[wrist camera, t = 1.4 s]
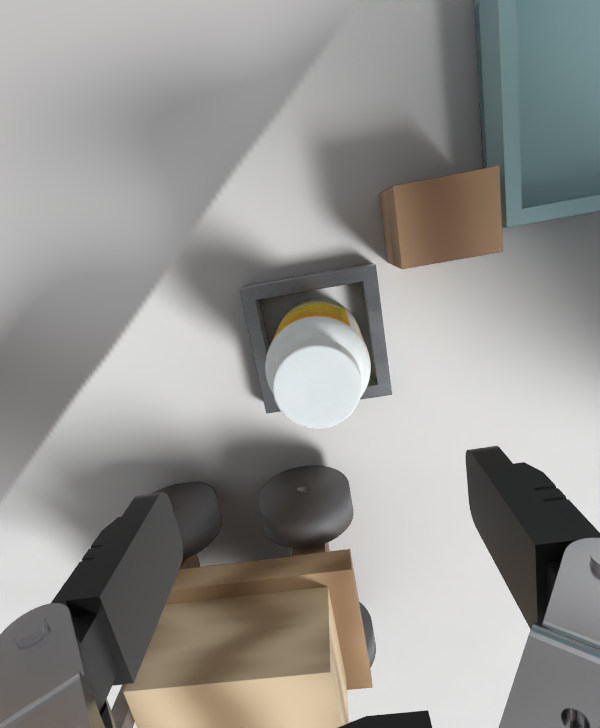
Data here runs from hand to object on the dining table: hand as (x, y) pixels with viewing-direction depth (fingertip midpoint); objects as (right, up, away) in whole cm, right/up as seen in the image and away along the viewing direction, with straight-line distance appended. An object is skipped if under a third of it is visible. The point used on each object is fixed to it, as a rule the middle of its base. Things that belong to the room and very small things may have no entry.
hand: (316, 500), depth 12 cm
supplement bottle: (+1, +5, +17) cm, 18 cm away
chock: (+7, +12, +15) cm, 20 cm away
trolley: (-3, -11, +22) cm, 25 cm away
